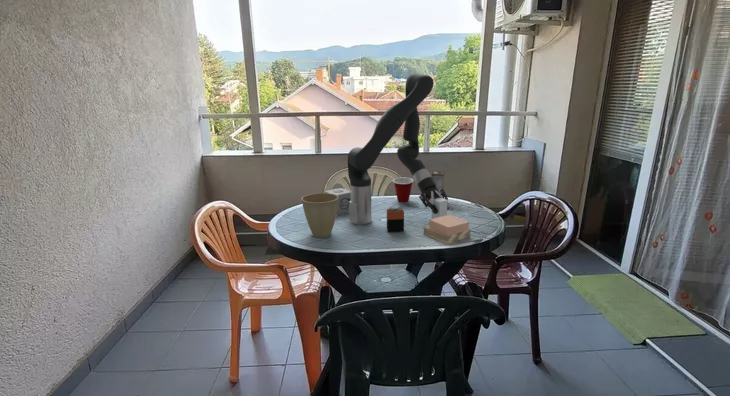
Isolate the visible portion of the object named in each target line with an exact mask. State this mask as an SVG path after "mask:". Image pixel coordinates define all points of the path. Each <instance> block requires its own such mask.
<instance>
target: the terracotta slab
mask: <svg viewBox="0 0 730 396" xmlns="http://www.w3.org/2000/svg"><path fill="white" fill-rule="evenodd" d="M428 221H429V222H428V226H429V228H431V229H433V230H435V231H438V232H440V233H442V234H444V235H447V236H450V235H454V234H457V233H461V232H464V231H468V229H469V226H470V225H469V224H470V221H467V220H465V219H461V218H459V217H456V216H453V215H451V214H447V215H446V216H442V217H438V218H434V219H429V220H428ZM469 230H470V229H469Z"/></svg>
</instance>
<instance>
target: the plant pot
mask: <svg viewBox="0 0 730 396" xmlns="http://www.w3.org/2000/svg"><path fill="white" fill-rule="evenodd" d="M338 198H339V197H338V196H337V195H335V194H331V193H324V192H318V193H317V192H315V193H311V194H310V193H309V194H307V195H304V196H302V197H301V204H302V208H303V212H304V213H303V214H304V216H305V219H306V221H307V224H308V227H309V229H310V232H311V234H312V236H313V237H315V238H327V237H329V236H331V234H332V231H333V228H334V225H335V222H336V217H337V216H336V213H337V207H338Z"/></svg>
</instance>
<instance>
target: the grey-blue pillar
mask: <svg viewBox="0 0 730 396" xmlns="http://www.w3.org/2000/svg"><path fill="white" fill-rule="evenodd" d="M448 201H449V199H448V200H446V199H443V198H436V199H434V201H433V202H434V205H435V206H436V208H437V210H438V213H437V214H434V213H433V212H432V211H431V219H434V218H438V217H442V216H446V215H448V211H447V205H448Z"/></svg>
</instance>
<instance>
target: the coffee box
mask: <svg viewBox="0 0 730 396" xmlns="http://www.w3.org/2000/svg"><path fill="white" fill-rule="evenodd" d="M431 177H432V178H433V180H434V182H435V184H436V188H437V189H438V190H441V189H444V190H445V188H444V187H445V171H444V170H432V171H431ZM439 198H440V197H439Z"/></svg>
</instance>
